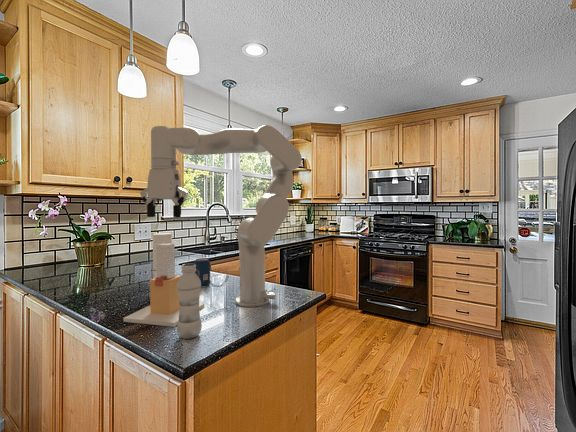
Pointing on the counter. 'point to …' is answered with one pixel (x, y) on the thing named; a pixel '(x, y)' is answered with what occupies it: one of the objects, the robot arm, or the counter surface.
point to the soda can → (203, 271)
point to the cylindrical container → (157, 239)
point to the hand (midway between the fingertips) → (164, 217)
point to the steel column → (165, 260)
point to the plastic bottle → (189, 303)
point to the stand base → (160, 304)
